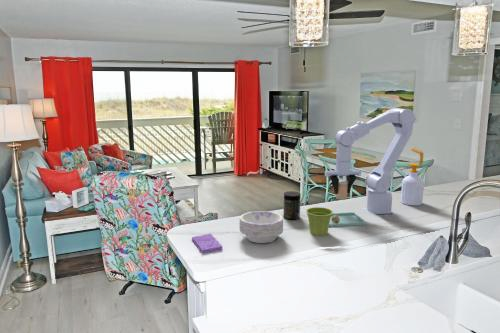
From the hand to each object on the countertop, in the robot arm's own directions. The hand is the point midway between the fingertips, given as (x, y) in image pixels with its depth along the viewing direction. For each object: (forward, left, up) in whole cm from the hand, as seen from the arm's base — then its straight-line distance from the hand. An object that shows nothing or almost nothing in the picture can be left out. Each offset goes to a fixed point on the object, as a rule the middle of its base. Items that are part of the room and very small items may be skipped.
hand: (341, 193), depth 159 cm
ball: (+6, +12, -8) cm, 16 cm away
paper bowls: (+36, +21, -9) cm, 43 cm away
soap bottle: (-37, -10, -9) cm, 39 cm away
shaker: (0, 0, -2) cm, 2 cm away
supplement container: (+21, +3, -9) cm, 24 cm away
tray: (+3, +9, -9) cm, 13 cm away
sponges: (+56, +24, -10) cm, 61 cm away
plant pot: (+15, +20, -9) cm, 27 cm away
